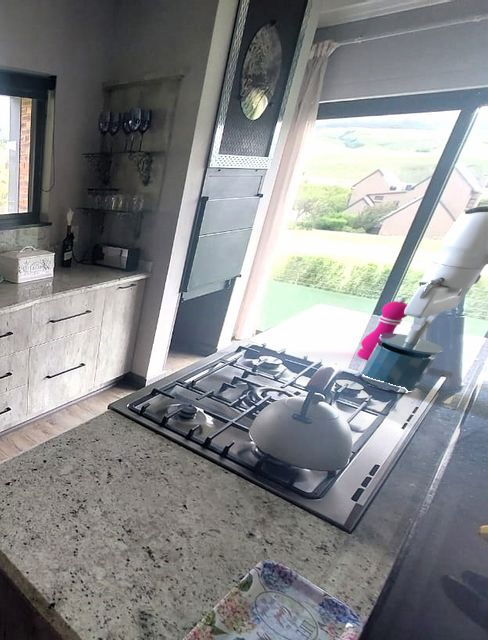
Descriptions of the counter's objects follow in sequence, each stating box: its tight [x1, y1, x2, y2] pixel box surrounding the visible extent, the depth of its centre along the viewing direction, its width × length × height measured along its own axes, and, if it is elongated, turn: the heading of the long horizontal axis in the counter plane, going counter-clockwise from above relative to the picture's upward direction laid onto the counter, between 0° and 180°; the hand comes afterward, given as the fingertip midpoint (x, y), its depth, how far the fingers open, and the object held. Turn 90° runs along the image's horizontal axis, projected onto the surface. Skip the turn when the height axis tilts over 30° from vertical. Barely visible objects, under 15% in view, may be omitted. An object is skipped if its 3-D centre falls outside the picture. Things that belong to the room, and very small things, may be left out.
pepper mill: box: [357, 296, 408, 361], centre depth 124 cm, size 7×7×20 cm
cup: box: [360, 341, 436, 392], centre depth 112 cm, size 12×12×10 cm
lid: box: [379, 319, 444, 356], centre depth 107 cm, size 13×13×8 cm
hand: (419, 328), depth 106 cm, fingers closed on lid, 2 cm apart
